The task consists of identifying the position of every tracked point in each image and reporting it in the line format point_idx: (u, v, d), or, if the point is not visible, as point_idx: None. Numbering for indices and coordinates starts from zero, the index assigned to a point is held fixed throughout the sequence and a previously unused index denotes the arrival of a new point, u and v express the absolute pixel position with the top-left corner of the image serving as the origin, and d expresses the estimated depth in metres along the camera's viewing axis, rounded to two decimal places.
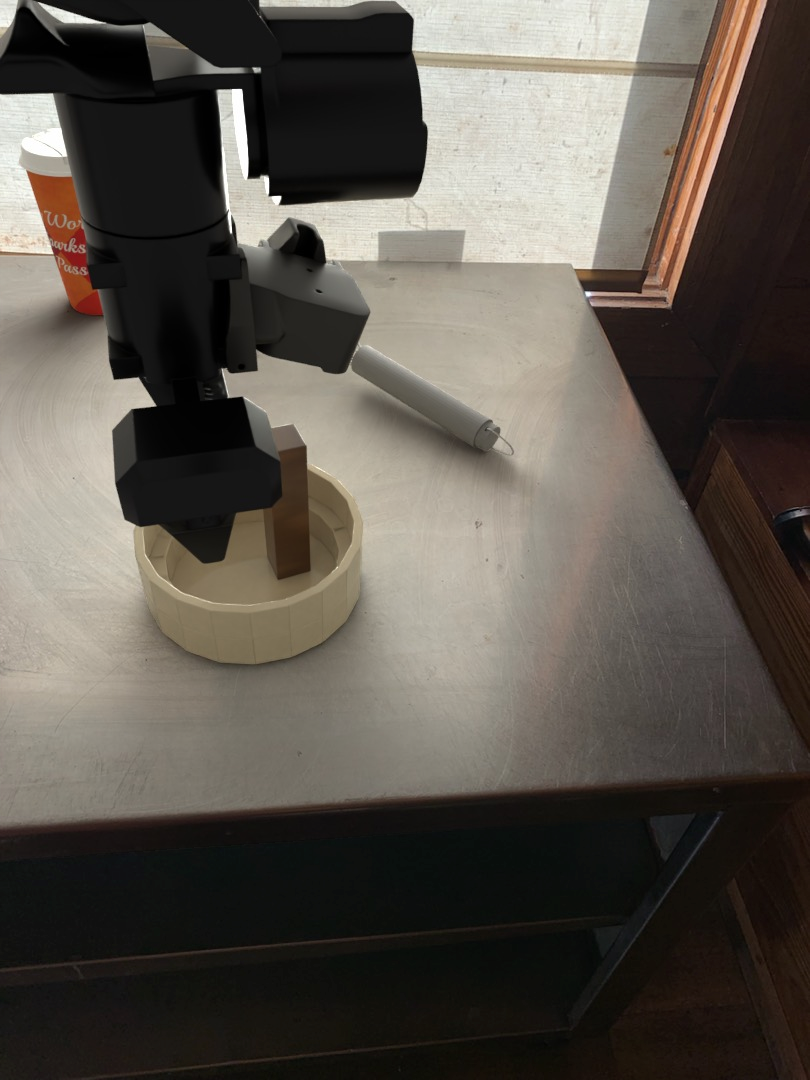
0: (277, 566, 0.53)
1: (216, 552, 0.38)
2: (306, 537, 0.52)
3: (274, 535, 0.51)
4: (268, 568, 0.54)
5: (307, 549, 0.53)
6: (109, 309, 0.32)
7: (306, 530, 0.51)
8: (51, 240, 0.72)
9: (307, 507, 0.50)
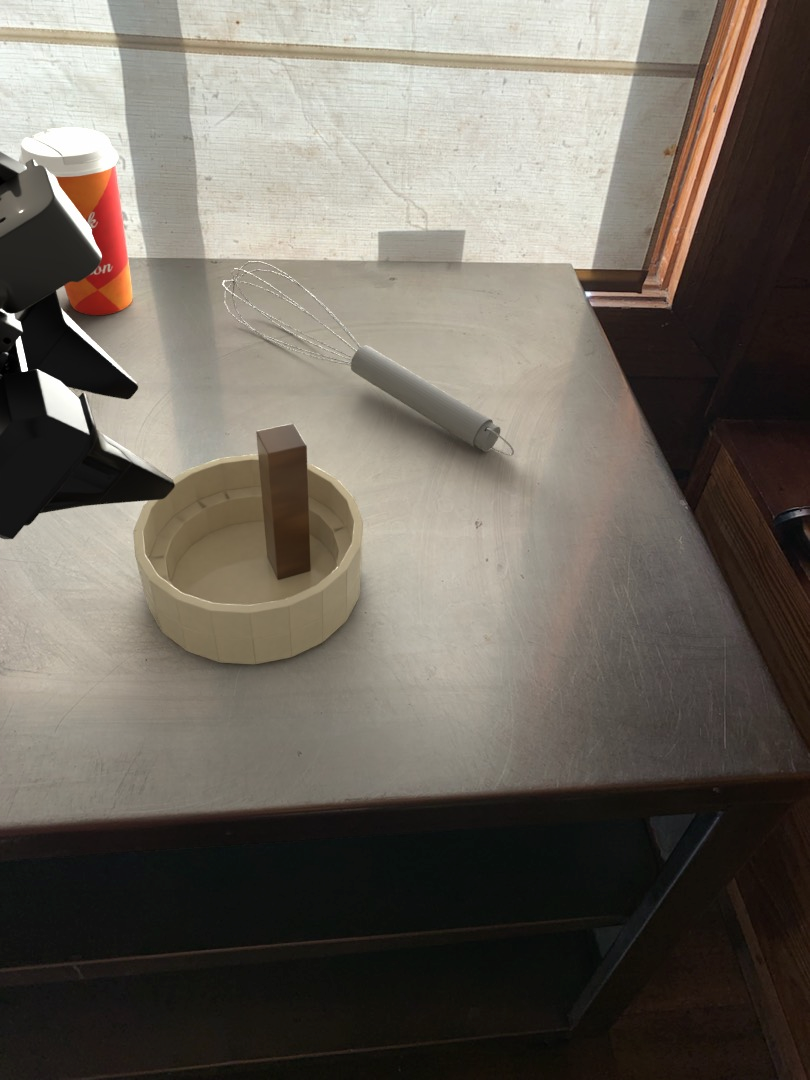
0: (277, 566, 0.53)
1: (157, 486, 0.39)
2: (306, 537, 0.52)
3: (274, 535, 0.51)
4: (268, 568, 0.54)
5: (307, 549, 0.53)
6: None
7: (306, 530, 0.51)
8: None
9: (307, 507, 0.50)
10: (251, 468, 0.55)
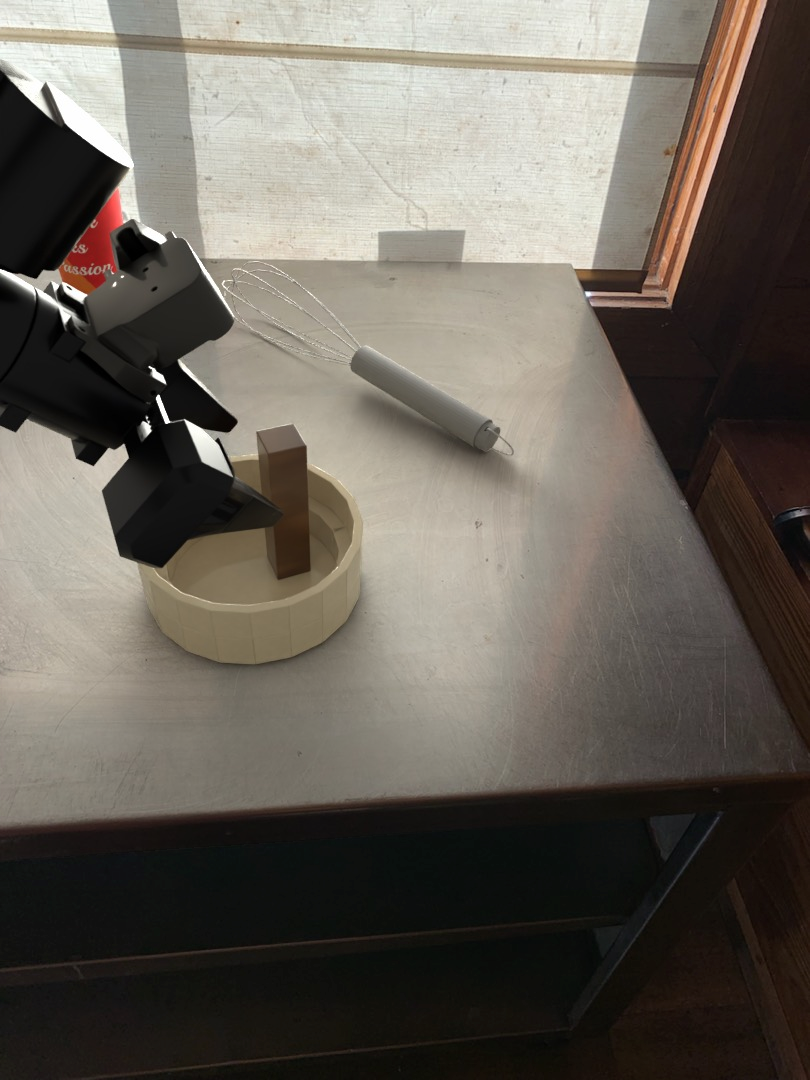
0: (277, 566, 0.53)
1: (270, 515, 0.44)
2: (306, 537, 0.52)
3: (274, 535, 0.51)
4: (268, 568, 0.54)
5: (307, 549, 0.53)
6: (46, 427, 0.39)
7: (306, 530, 0.51)
8: None
9: (307, 507, 0.50)
10: (251, 468, 0.55)
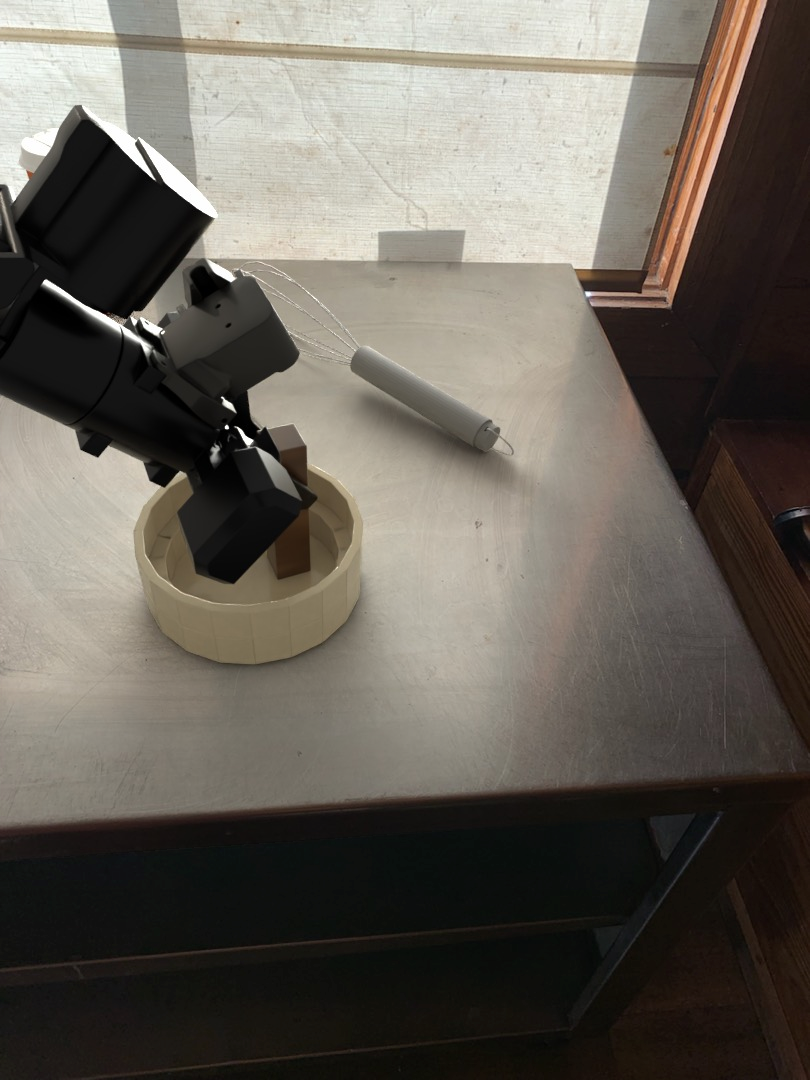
0: (277, 566, 0.53)
1: (306, 498, 0.49)
2: (306, 537, 0.52)
3: None
4: (268, 568, 0.54)
5: (307, 548, 0.53)
6: (123, 452, 0.41)
7: (306, 530, 0.51)
8: None
9: None
10: None
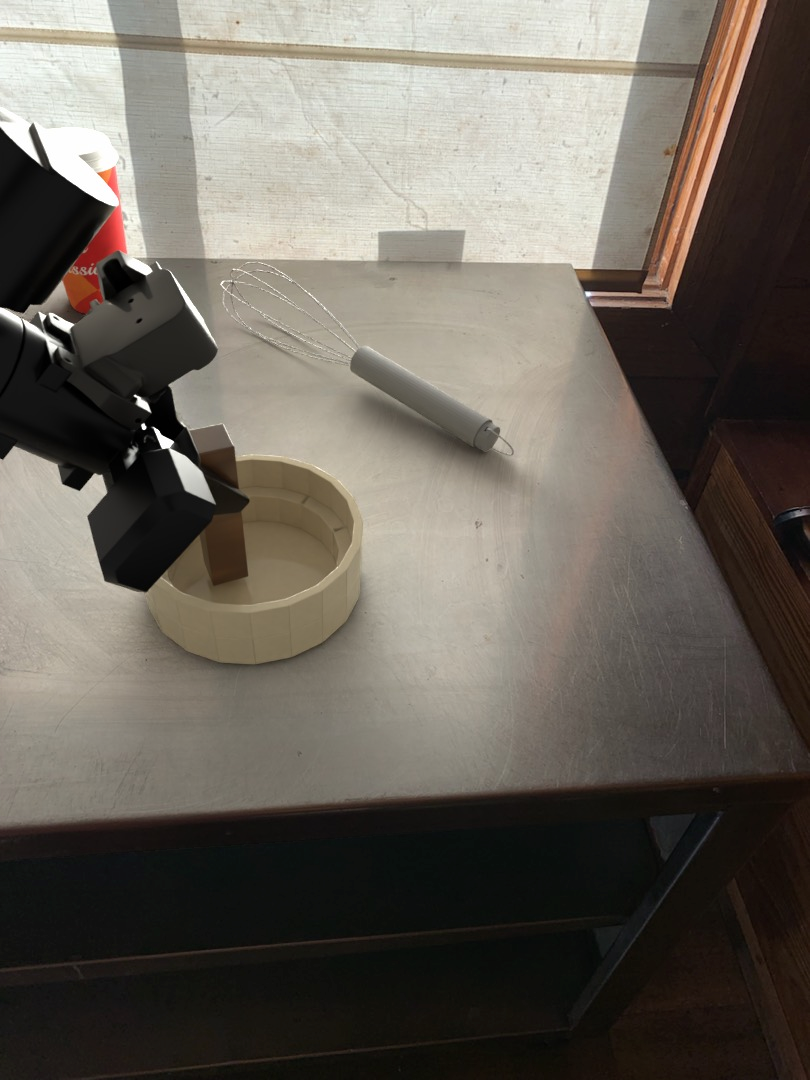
0: (212, 571, 0.51)
1: (236, 501, 0.47)
2: (241, 541, 0.50)
3: (206, 539, 0.49)
4: (268, 568, 0.54)
5: (243, 553, 0.51)
6: None
7: (240, 534, 0.50)
8: None
9: None
10: (251, 468, 0.55)
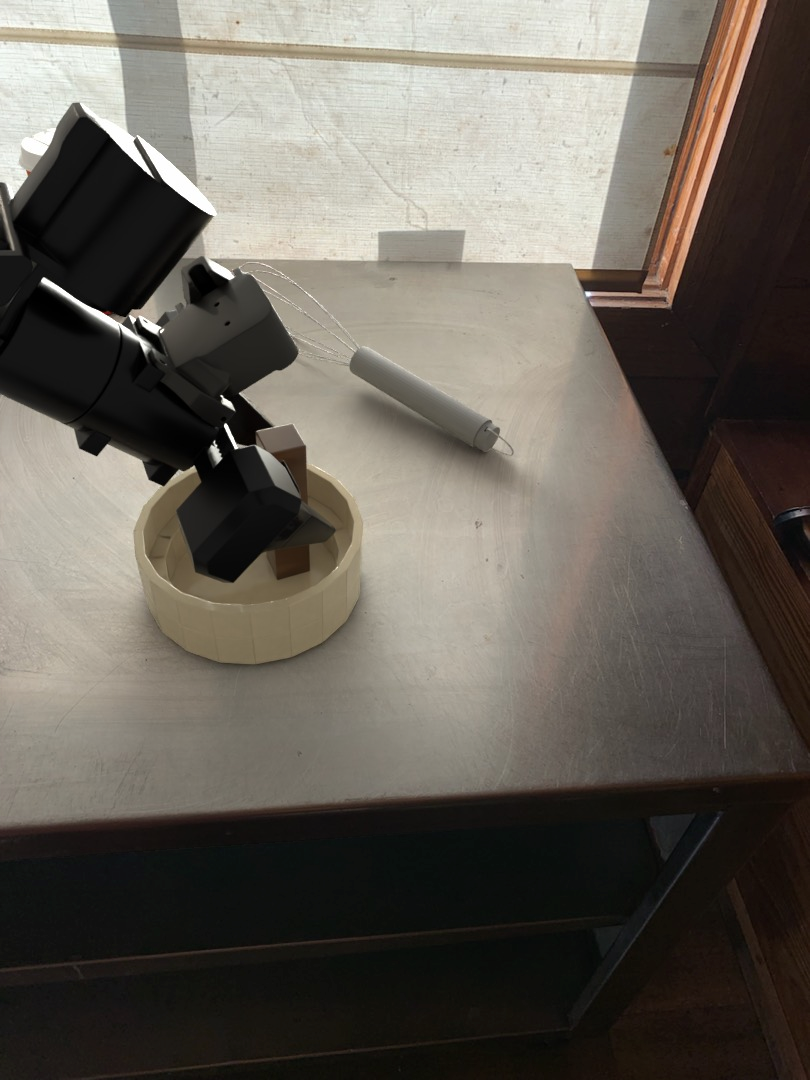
0: (276, 566, 0.53)
1: (324, 532, 0.46)
2: None
3: None
4: (268, 568, 0.54)
5: (306, 549, 0.53)
6: None
7: None
8: None
9: None
10: None
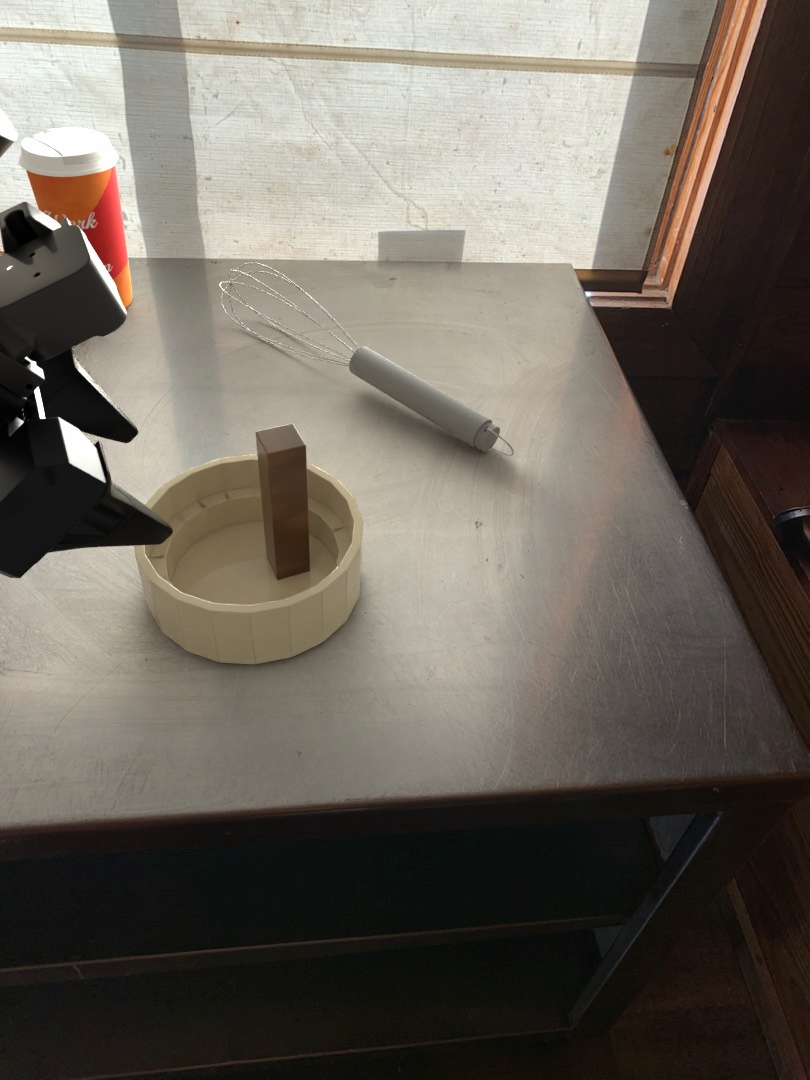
0: (276, 566, 0.53)
1: (157, 532, 0.40)
2: (306, 537, 0.52)
3: (273, 535, 0.51)
4: (268, 568, 0.54)
5: (306, 549, 0.53)
6: None
7: (305, 530, 0.51)
8: None
9: (306, 507, 0.50)
10: (251, 468, 0.55)
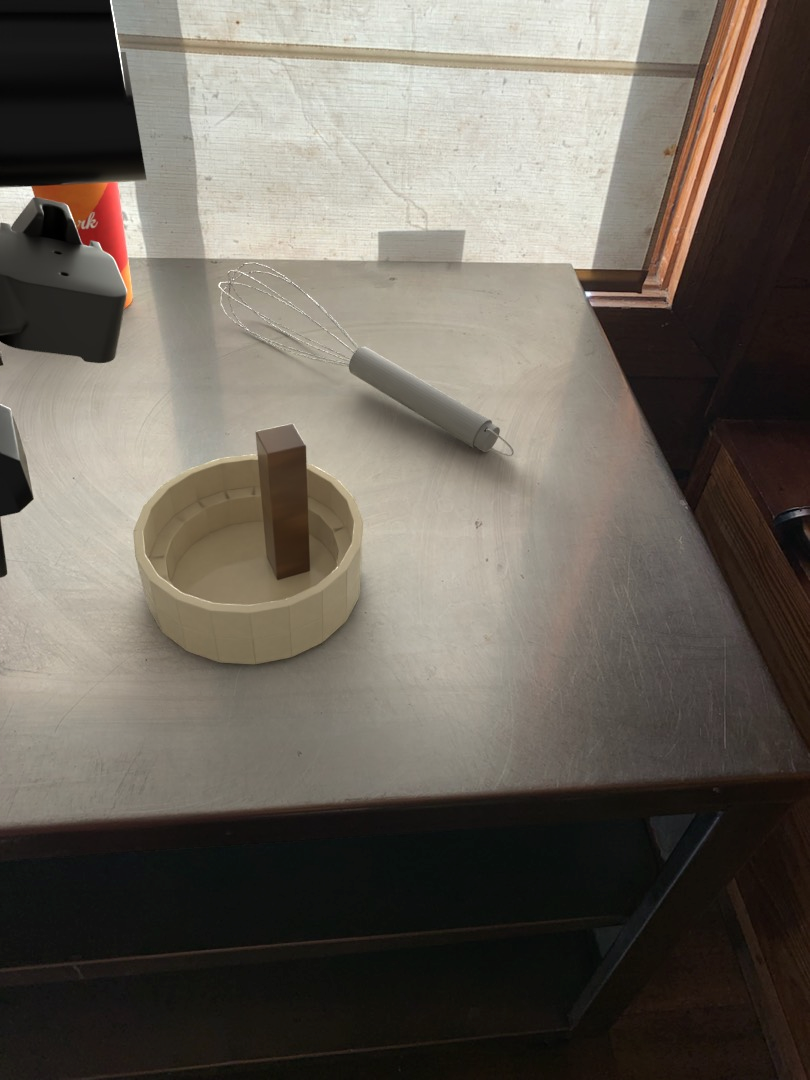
0: (276, 566, 0.53)
1: None
2: (306, 537, 0.52)
3: (273, 535, 0.51)
4: (268, 568, 0.54)
5: (306, 549, 0.53)
6: None
7: (305, 530, 0.51)
8: None
9: (306, 507, 0.50)
10: (251, 468, 0.55)
